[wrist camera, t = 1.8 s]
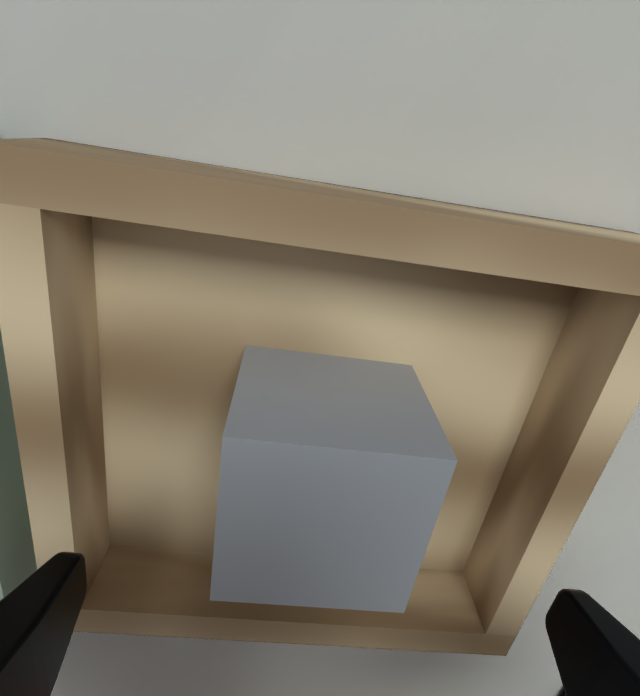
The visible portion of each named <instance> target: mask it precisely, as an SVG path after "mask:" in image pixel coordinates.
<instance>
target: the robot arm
mask: <svg viewBox="0 0 640 696" xmlns="http://www.w3.org/2000/svg"><path fill="white" fill-rule="evenodd" d="M86 591H87V575H86V564H85V557H84V555H83V554H82V553H76V552H59V553H57V554H55V555H54V556H53V557H52V558H50V559H49V560H48V561H47V562H46V563H44V564H43V565H42V566H41V567H40V568H38V569H37V570H36V571H35V572H34V573H33V574H31V575H30V576H29V577H28V578H27V579H25V580H24V581H23V582H22V583H21V584H19V585H18V586H17V587H16V588H15V589H13V590H12V591H11V592H10V593H9V594H7V595H6V596H5V597H4V598H3V599H1V600H0V696H50V695H51V692H52V690H53V687H54V684H55V681H56V679H57V676H58V673H59V670H60V667H61V665H62V662H63V659H64V656H65V653H66V650H67V647H68V645H69V642H70V639H71V636H72V633H73V630H74V627H75V625H76V622H77V619H78V616H79V613H80V610H81V608H82V605H83V602H84V599H85V595H86ZM546 629H547V633H548V636H549V640H550V643H551V646H552V650H553V653H554V657H555V660H556V663H557V667H558V670H559V674H560V677H561V680H562V684H563V687H564V691H565V694H564V695H563V696H640V640H639V639H638V638H637V637H636V636H635V635H634V634H633V633H631V632H630V631H629V630H628V629H627V628H626V627H625V626H624V625H622V624H621V623H620V622H619V621H618V620H617V619H616V618H614V617H613V616H612V615H611V614H610V613H609V612H608V611H606V610H605V609H604V608H603V607H602V606H601V605H600V604H599V603H597V602H596V601H595V600H594V599H593V598H592V597H591V596H589V595H588V594H587V593H585V592H584V591H581V590H575V589H562V590H560V591H559V592H558V594H557V596H556V598H555V600H554V601H553V603H552V605H551V607H550V609H549V610H548V612H547V615H546Z"/></svg>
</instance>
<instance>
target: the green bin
mask: <svg viewBox="0 0 640 696" xmlns="http://www.w3.org/2000/svg"><path fill="white" fill-rule="evenodd" d="M36 570H37V565H36V558H35V552H34V545H33V539H32V532H31V525H30V519H29V512H28V506H27V499H26V493H25V486H24V479H23V473H22V466H21V460H20V453H19V446H18V440H17V433H16V427H15V420H14V414H13V407H12V400H11V394H10V387H9V381H8V374H7V368H6V361H5V354H4V348H3V341H2V335H1V328H0V600H1V599H3V598H4V597H5V596H6V595H7V594H9V593H10V592H11V591H12V590H13V589H15V588H16V587H17V586H18V585H19V584H21V583H22V582H23V581H24V580H25V579H27V578H28V577H29V576H30V575H31V574H33V573H34V572H35V571H36Z"/></svg>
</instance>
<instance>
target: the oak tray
mask: <svg viewBox="0 0 640 696" xmlns="http://www.w3.org/2000/svg"><path fill="white" fill-rule="evenodd" d="M0 328H1V335H2V341H3V348H4V354H5V361H6V368H7V374H8V381H9V387H10V394H11V400H12V407H13V414H14V420H15V427H16V433H17V440H18V446H19V453H20V460H21V466H22V473H23V479H24V486H25V493H26V499H27V506H28V512H29V519H30V525H31V532H32V539H33V545H34V552H35V558H36V565H37V569H38V568H40V567H41V566H42V565H43V564H44V563H46V562H47V561H48V560H49V559H50V558H52V557H53V556H54V555H55V554H57V553H59V552H76V553H82V554H83V555H84V557H85V564H86V575H87V591H86V595H85V599H84V602H83V605H82V608H81V610H80V613H79V616H78V619H77V622H76V625H75V627H74V630H73V631H77V632H94V633H112V634H130V635H148V636H165V637H183V638H201V639H218V640H236V641H254V642H271V643H289V644H307V645H325V646H342V647H360V648H378V649H395V650H413V651H431V652H449V653H466V654H484V655H502V656H506V655H507V653H508V651H509V649H510V647H511V645H512V643H513V641H514V639H515V637H516V636H517V634H518V632H519V630H520V628H521V626H522V624H523V622H524V620H525V618H526V617H527V615H528V613H529V611H530V609H531V607H532V605H533V603H534V601H535V599H536V598H537V596H538V594H539V592H540V590H541V588H542V586H543V584H544V582H545V580H546V578H547V577H548V575H549V573H550V571H551V569H552V567H553V565H554V563H555V561H556V559H557V558H558V556H559V554H560V552H561V550H562V548H563V546H564V544H565V542H566V540H567V539H568V537H569V535H570V533H571V531H572V529H573V527H574V525H575V523H576V521H577V519H578V518H579V516H580V514H581V512H582V510H583V508H584V506H585V504H586V502H587V500H588V499H589V497H590V495H591V493H592V491H593V489H594V487H595V485H596V483H597V481H598V480H599V478H600V476H601V474H602V472H603V470H604V468H605V466H606V464H607V462H608V460H609V459H610V457H611V455H612V453H613V451H614V449H615V447H616V445H617V443H618V441H619V440H620V438H621V436H622V434H623V432H624V430H625V428H626V426H627V424H628V422H629V421H630V419H631V417H632V415H633V413H634V411H635V409H636V407H637V405H638V403H639V401H640V234H637V233H633V232H627V231H621V230H615V229H609V228H603V227H596V226H590V225H584V224H578V223H571V222H565V221H559V220H553V219H547V218H540V217H534V216H528V215H522V214H515V213H509V212H503V211H497V210H491V209H484V208H478V207H472V206H466V205H459V204H453V203H447V202H441V201H435V200H428V199H422V198H416V197H410V196H403V195H397V194H391V193H385V192H379V191H372V190H366V189H360V188H354V187H347V186H341V185H335V184H329V183H323V182H316V181H310V180H304V179H298V178H291V177H285V176H279V175H273V174H267V173H260V172H254V171H248V170H242V169H235V168H229V167H223V166H217V165H211V164H204V163H198V162H192V161H186V160H179V159H173V158H167V157H161V156H155V155H148V154H142V153H136V152H130V151H123V150H117V149H111V148H105V147H99V146H92V145H86V144H80V143H74V142H67V141H61V140H55V139H49V138H24V139H0ZM246 345H251V346H259V347H267V348H275V349H284V350H292V351H300V352H308V353H316V354H324V355H333V356H341V357H349V358H357V359H365V360H374V361H382V362H390V363H398V364H406V365H412V367H413V369H414V371H415V373H416V375H417V377H418V379H419V381H420V383H421V385H422V388H423V390H424V392H425V394H426V396H427V398H428V400H429V402H430V404H431V406H432V408H433V410H434V412H435V414H436V417H437V419H438V421H439V423H440V425H441V427H442V429H443V431H444V433H445V435H446V437H447V439H448V441H449V443H450V446H451V448H452V450H453V452H454V454H455V456H456V458H457V460H458V461H457V464H456V467H455V470H454V473H453V475H452V478H451V481H450V484H449V487H448V490H447V492H446V495H445V498H444V501H443V504H442V507H441V510H440V512H439V515H438V518H437V521H436V524H435V527H434V529H433V532H432V535H431V538H430V541H429V544H428V546H427V549H426V552H425V555H424V558H423V561H422V564H421V566H420V569H419V572H418V575H417V578H416V581H415V583H414V586H413V589H412V592H411V595H410V598H409V601H408V603H407V606H406V609H405V612H404V613H396V612H381V611H365V610H350V609H335V608H319V607H304V606H288V605H273V604H258V603H242V602H227V601H211V600H210V589H211V576H212V564H213V551H214V538H215V526H216V513H217V500H218V487H219V475H220V462H221V449H222V437H223V433H224V429H225V425H226V421H227V417H228V413H229V409H230V405H231V401H232V397H233V394H234V390H235V386H236V382H237V378H238V374H239V370H240V366H241V362H242V358H243V354H244V350H245V347H246Z"/></svg>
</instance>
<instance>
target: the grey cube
mask: <svg viewBox="0 0 640 696" xmlns="http://www.w3.org/2000/svg"><path fill="white" fill-rule="evenodd" d="M457 461H458V460H457V458H456V456H455V454H454V452H453V450H452V448H451V446H450V443H449V441H448V439H447V437H446V435H445V433H444V431H443V429H442V427H441V425H440V423H439V421H438V419H437V417H436V414H435V412H434V410H433V408H432V406H431V404H430V402H429V400H428V398H427V396H426V394H425V392H424V390H423V388H422V385H421V383H420V381H419V379H418V377H417V375H416V373H415V371H414V369H413V367H412V365H406V364H398V363H390V362H382V361H374V360H365V359H357V358H349V357H341V356H333V355H324V354H316V353H308V352H300V351H292V350H284V349H275V348H267V347H259V346H251V345H246V347H245V350H244V354H243V358H242V362H241V366H240V370H239V374H238V378H237V382H236V386H235V390H234V394H233V397H232V401H231V405H230V409H229V413H228V417H227V421H226V425H225V429H224V433H223V437H222V449H221V462H220V475H219V487H218V500H217V513H216V526H215V538H214V551H213V564H212V576H211V589H210V600H211V601H227V602H242V603H258V604H273V605H288V606H304V607H319V608H335V609H350V610H365V611H381V612H396V613H404V612H405V609H406V606H407V603H408V601H409V598H410V595H411V592H412V589H413V586H414V583H415V581H416V578H417V575H418V572H419V569H420V566H421V564H422V561H423V558H424V555H425V552H426V549H427V546H428V544H429V541H430V538H431V535H432V532H433V529H434V527H435V524H436V521H437V518H438V515H439V512H440V510H441V507H442V504H443V501H444V498H445V495H446V492H447V490H448V487H449V484H450V481H451V478H452V475H453V473H454V470H455V467H456V464H457Z"/></svg>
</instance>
